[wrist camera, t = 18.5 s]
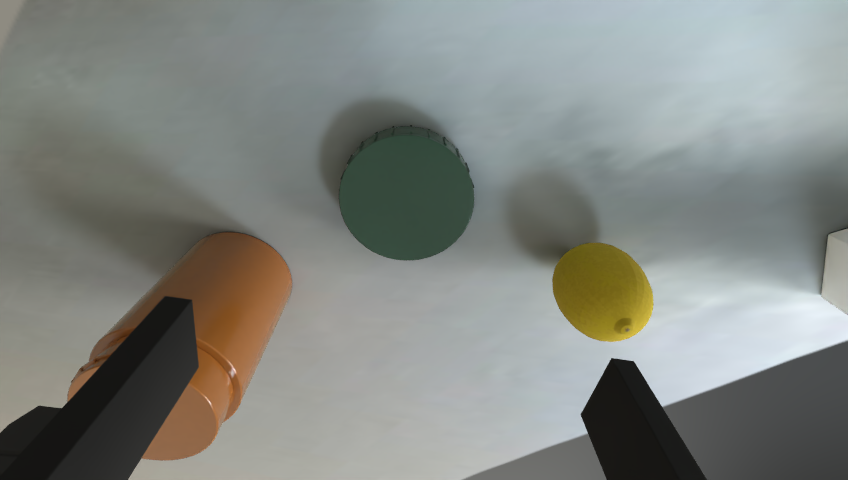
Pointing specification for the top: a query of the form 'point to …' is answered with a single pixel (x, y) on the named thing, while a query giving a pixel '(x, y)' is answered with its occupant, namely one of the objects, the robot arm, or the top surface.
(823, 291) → the milk
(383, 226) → the jar lid
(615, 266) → the lemon
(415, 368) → the top surface
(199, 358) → the jam jar
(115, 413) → the robot arm
